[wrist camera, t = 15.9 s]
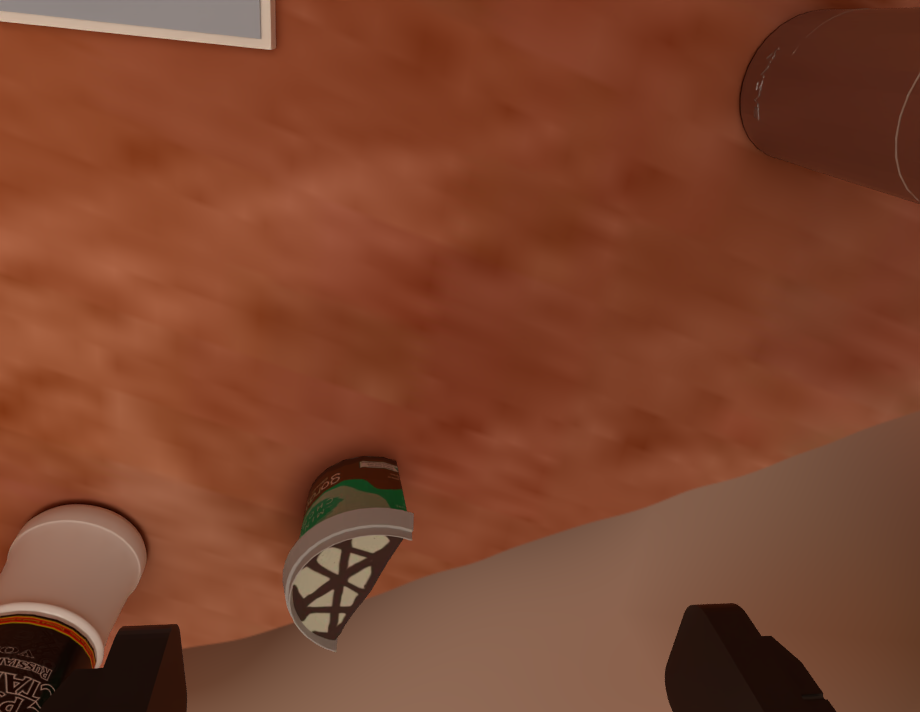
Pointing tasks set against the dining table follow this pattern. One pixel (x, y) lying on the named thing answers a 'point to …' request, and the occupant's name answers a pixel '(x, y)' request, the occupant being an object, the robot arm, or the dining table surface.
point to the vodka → (62, 598)
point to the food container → (344, 544)
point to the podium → (156, 18)
